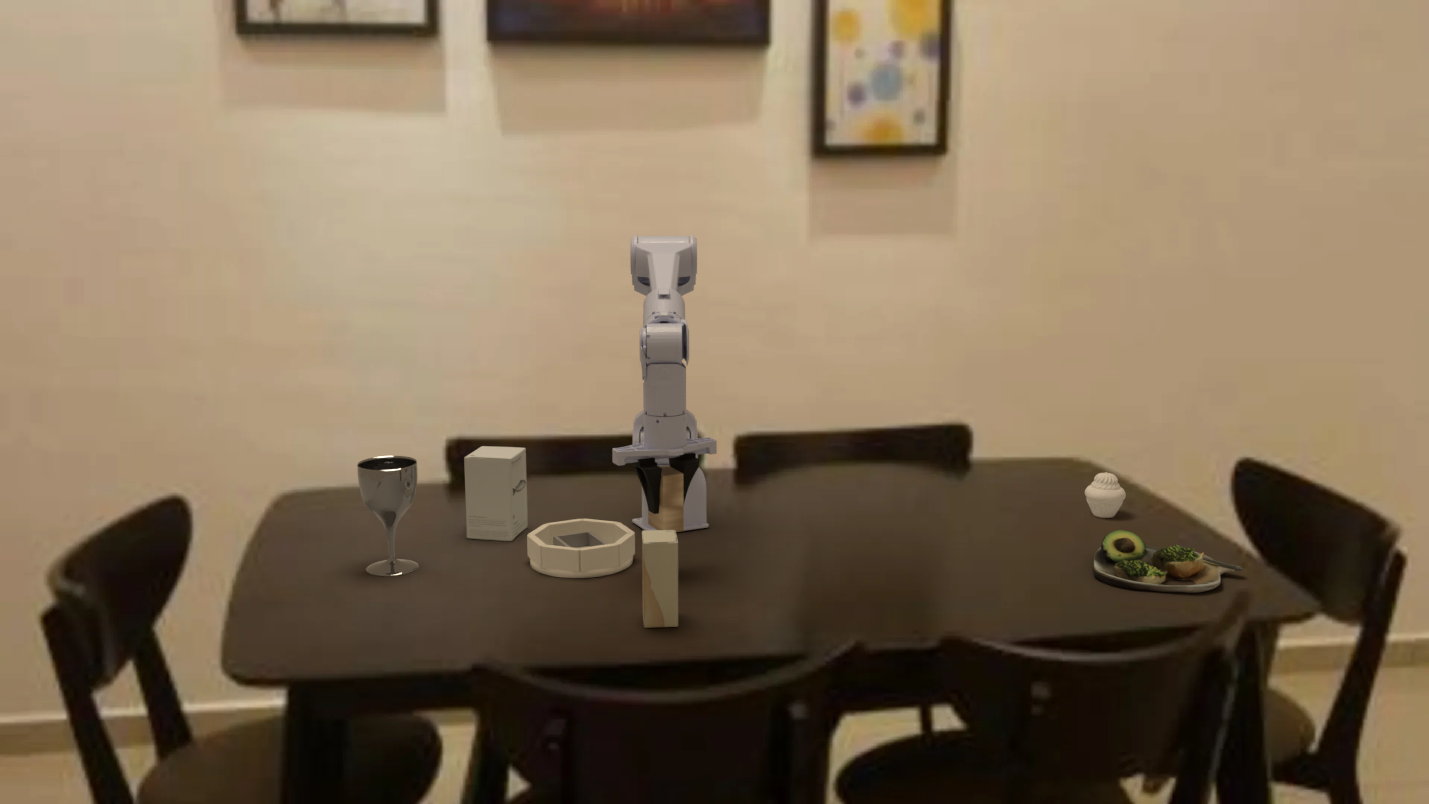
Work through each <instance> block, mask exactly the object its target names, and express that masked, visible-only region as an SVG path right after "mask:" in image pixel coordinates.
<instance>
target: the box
mask: <svg viewBox="0 0 1429 804" xmlns="http://www.w3.org/2000/svg"><path fill="white" fill-rule="evenodd" d="M641 554H642V555H641V561H642V562H641V564H642V565H641V566H642V567H641V569H642V573H641V574H642V575H641V577H642V585H641V586H642V621H643V627H644V628H647V629H648V628H650V629H651V628H672V627H673V628H674V627H675V628H676V627H677V628H678V627H679V540H678V535H677V532H676V531H675V530H646V531H645V530H642V531H641Z"/></svg>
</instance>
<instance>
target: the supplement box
mask: <svg viewBox="0 0 1429 804" xmlns="http://www.w3.org/2000/svg"><path fill="white" fill-rule="evenodd" d="M526 451H527V448H526V447H515V446H486V445H482V446H480V447H478V448H477V449H475V450H474V451H472V452H471V453H469V454H467V455H466V456H464V458H463V460H464V465H463V466H464V489H465V491H464V492H465V493H464V494H465V519H466V520H465V522H466V526H465V527H466V538H467V539H473V540H485V541H486V540H487V541H502V542H513V541H514V540H515V538H516V537H517V536H518V535H519V534H521V533H522V532H523V531H524V530H526V529H527V528H528V526H529V525H528V524H529V523H528V521H529V520H528V487H527V486H528V483H527V453H526Z"/></svg>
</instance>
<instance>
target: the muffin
mask: <svg viewBox="0 0 1429 804" xmlns="http://www.w3.org/2000/svg"><path fill="white" fill-rule="evenodd" d="M1118 481H1119V479H1118V477H1117V476H1116V475H1115V474H1113V473H1110V472H1107V471H1106V472H1099V473H1097V474H1096V475H1095V476H1094V478H1093V481H1092V482H1091V483H1090V484H1089V485H1088V486H1087V487H1086V488H1085V489H1084V495H1085V498H1086V499H1085V500H1086V502H1087V505H1088V506H1089V509H1090V511H1091V513H1092V515H1093V516H1094V517H1097V518H1103V519H1106V518H1107V519H1110V518H1115V516H1116V514H1117V513H1118V511H1119V509H1121V506H1122V505H1123V502H1124V500H1125V499H1126V496H1127V495H1126V491H1125V489H1124V488H1123V487H1121V485H1120V483H1119V482H1118Z"/></svg>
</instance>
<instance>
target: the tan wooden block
mask: <svg viewBox="0 0 1429 804" xmlns="http://www.w3.org/2000/svg"><path fill="white" fill-rule="evenodd" d="M659 467H661V468H662V473H661V478H660V487H659V503H660V505H659V513H658V514H653V513H652V512H650V511H648V524H649V525H650V526H652V527H653V528H655V529H656V530H675V531H676V533H679V532H685V531H684V504H683V473H681V472H679V471H678V470H676V469H674V468H672V467H670V466H668V465H666V466H659Z"/></svg>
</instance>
